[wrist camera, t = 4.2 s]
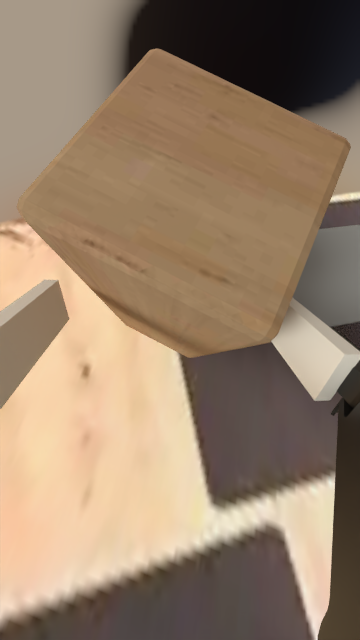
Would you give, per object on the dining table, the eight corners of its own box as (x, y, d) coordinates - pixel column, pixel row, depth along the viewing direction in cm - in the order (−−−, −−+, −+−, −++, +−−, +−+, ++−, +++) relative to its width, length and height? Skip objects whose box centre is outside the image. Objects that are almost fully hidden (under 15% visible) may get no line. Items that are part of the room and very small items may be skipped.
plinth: (341, 241, 31) (366, 224, 28) (370, 320, 29) (403, 313, 25) (246, 252, 30) (258, 235, 26) (268, 338, 27) (286, 333, 23)
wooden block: (159, 262, 28) (152, 37, 9) (222, 295, 28) (360, 137, 8) (123, 323, 26) (2, 203, 6) (191, 359, 26) (280, 347, 6)
